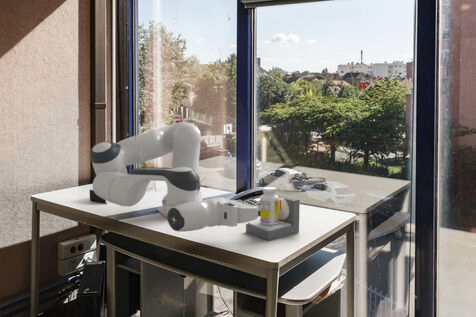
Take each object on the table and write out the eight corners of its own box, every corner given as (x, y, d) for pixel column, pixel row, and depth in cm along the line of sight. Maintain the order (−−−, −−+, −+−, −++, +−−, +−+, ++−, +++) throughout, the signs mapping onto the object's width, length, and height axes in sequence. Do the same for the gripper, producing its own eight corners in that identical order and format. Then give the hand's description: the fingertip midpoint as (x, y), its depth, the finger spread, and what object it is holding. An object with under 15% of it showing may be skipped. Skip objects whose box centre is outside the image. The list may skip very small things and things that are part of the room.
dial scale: (245, 232, 145) (245, 199, 143) (276, 224, 154) (276, 194, 153) (268, 240, 135) (268, 206, 134) (299, 232, 145) (299, 199, 143)
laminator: (140, 190, 223) (140, 179, 222) (157, 192, 217) (157, 181, 216) (89, 202, 194) (89, 189, 193) (107, 205, 188) (106, 192, 187)
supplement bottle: (276, 220, 147) (276, 186, 145) (280, 225, 141) (281, 189, 139) (258, 221, 146) (258, 186, 144) (262, 226, 140) (262, 190, 138)
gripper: (199, 214, 136) (231, 208, 145) (236, 228, 120) (270, 220, 129) (199, 196, 136) (231, 191, 144) (236, 207, 120) (270, 201, 128)
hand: (250, 204), depth 136 cm, fingers open, 8 cm apart
